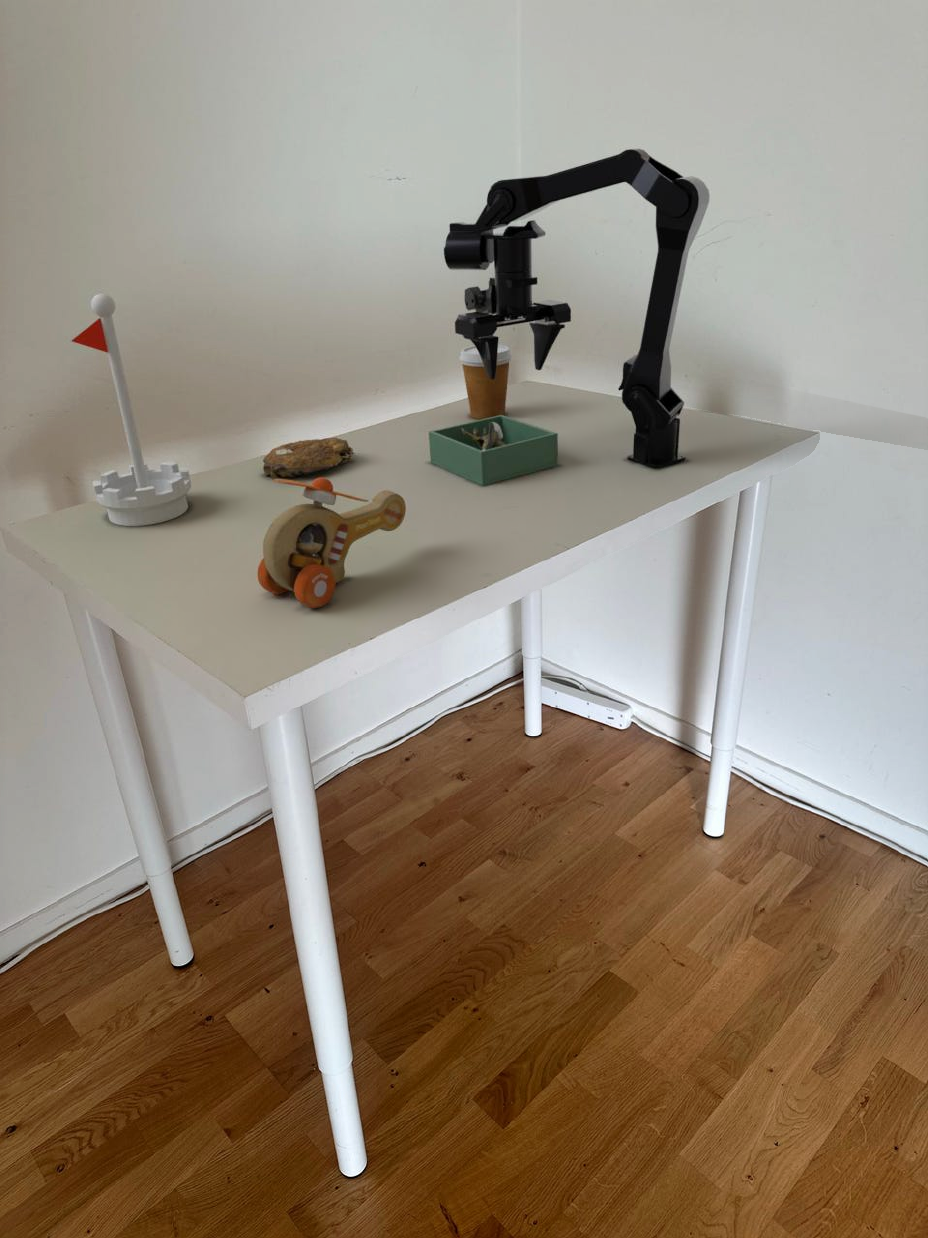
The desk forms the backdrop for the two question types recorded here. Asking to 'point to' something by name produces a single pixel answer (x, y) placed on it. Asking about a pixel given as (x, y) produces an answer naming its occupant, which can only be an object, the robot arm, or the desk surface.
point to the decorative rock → (306, 457)
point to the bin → (494, 450)
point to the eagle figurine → (487, 437)
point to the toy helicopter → (320, 541)
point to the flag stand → (132, 446)
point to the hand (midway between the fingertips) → (515, 374)
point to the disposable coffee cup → (485, 382)
